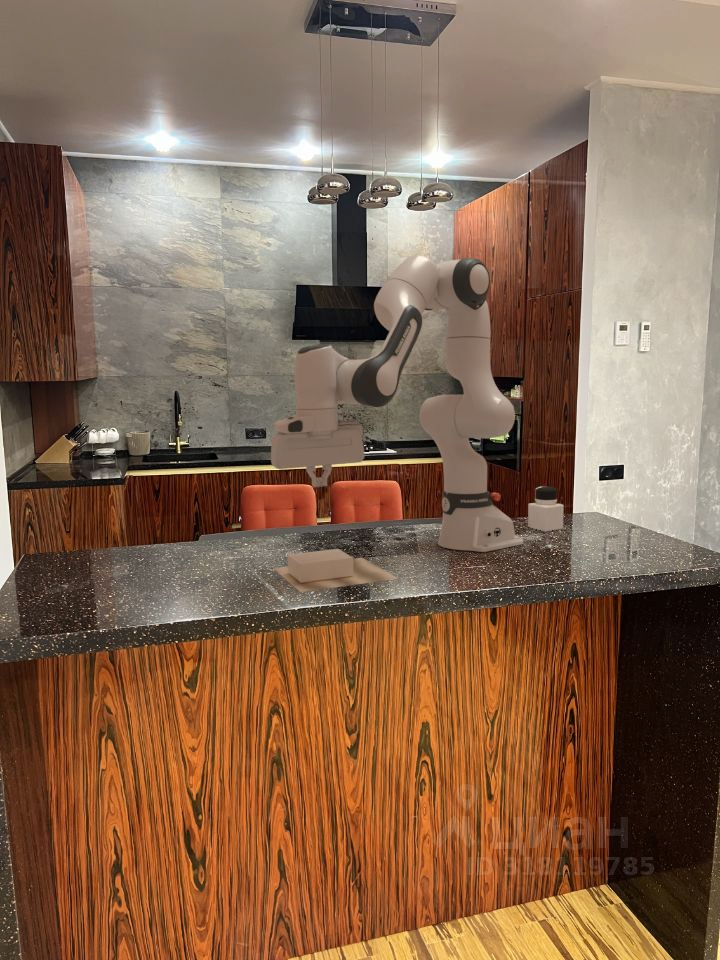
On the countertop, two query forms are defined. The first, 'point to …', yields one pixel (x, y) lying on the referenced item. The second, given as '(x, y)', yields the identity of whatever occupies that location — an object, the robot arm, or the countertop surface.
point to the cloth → (361, 571)
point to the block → (320, 565)
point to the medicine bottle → (545, 510)
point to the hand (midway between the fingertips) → (319, 486)
